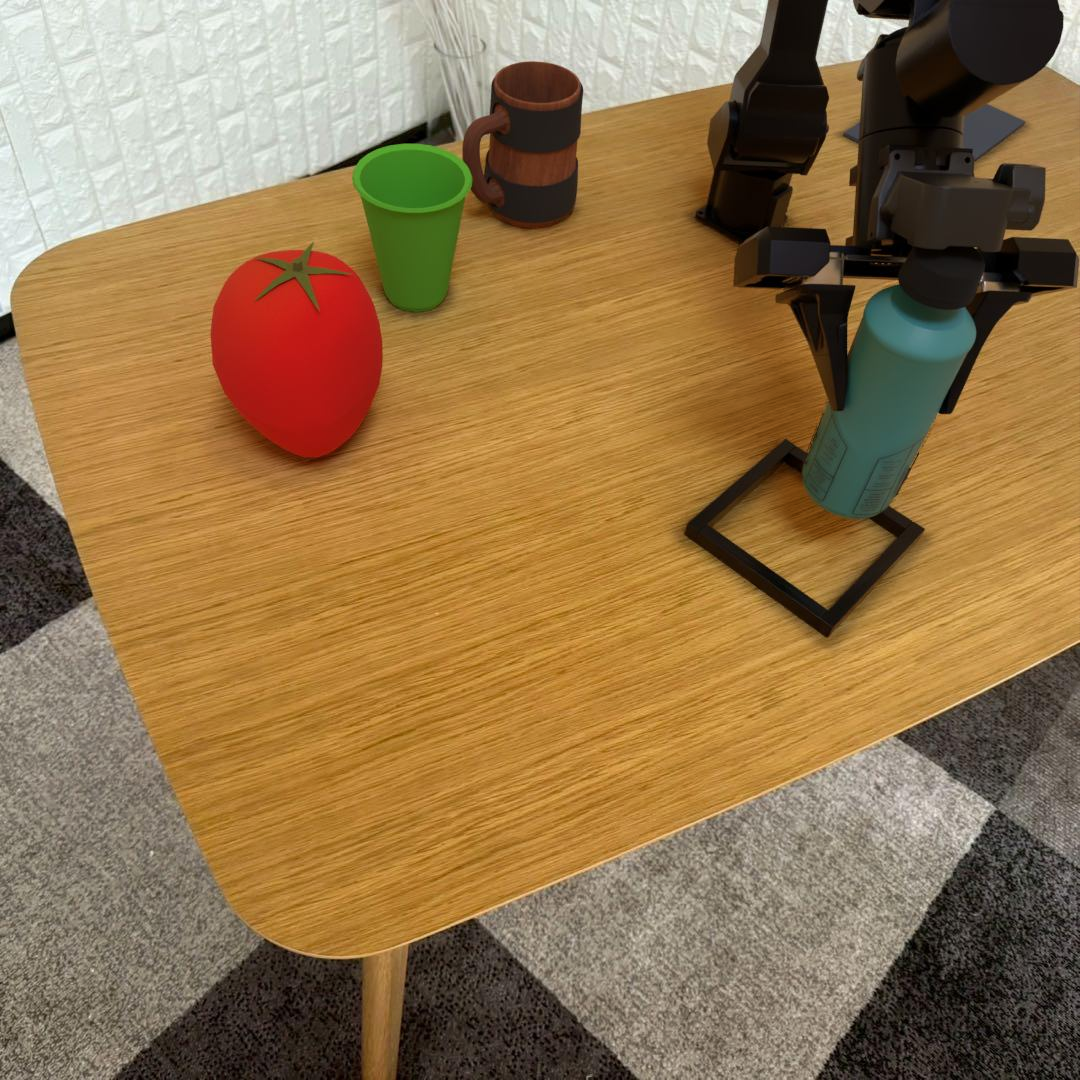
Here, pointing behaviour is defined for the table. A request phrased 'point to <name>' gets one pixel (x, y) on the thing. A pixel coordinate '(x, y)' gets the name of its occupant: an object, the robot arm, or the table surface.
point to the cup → (413, 218)
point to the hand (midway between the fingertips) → (891, 412)
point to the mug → (528, 144)
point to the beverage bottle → (894, 382)
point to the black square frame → (771, 581)
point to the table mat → (976, 129)
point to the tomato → (298, 348)
